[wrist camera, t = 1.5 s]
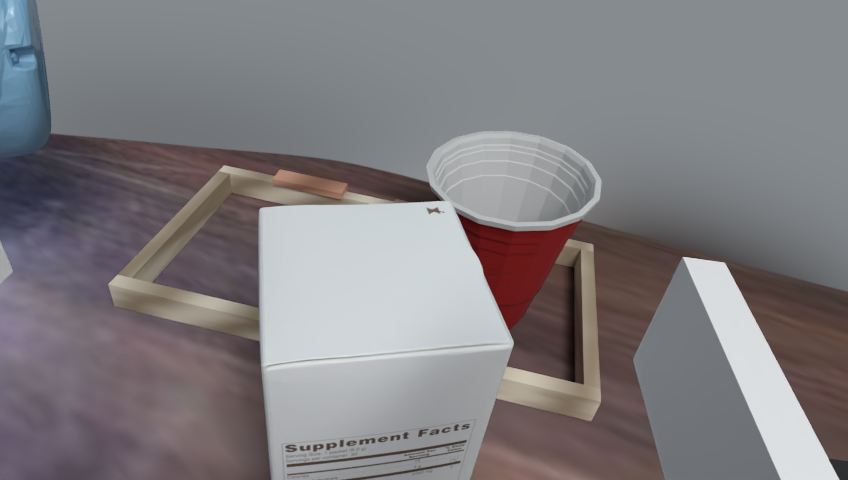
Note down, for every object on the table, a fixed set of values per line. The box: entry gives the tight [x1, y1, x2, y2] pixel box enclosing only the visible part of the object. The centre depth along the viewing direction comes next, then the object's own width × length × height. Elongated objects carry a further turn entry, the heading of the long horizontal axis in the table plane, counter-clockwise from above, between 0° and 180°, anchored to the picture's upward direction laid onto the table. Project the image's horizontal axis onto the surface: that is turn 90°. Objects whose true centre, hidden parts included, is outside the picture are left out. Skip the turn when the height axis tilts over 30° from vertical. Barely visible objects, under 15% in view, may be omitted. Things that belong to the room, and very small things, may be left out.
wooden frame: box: [108, 165, 601, 421], centre depth 43 cm, size 32×16×3 cm, turn 78°
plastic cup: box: [426, 131, 601, 330], centre depth 39 cm, size 11×11×12 cm
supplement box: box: [258, 201, 514, 480], centre depth 27 cm, size 9×9×15 cm
